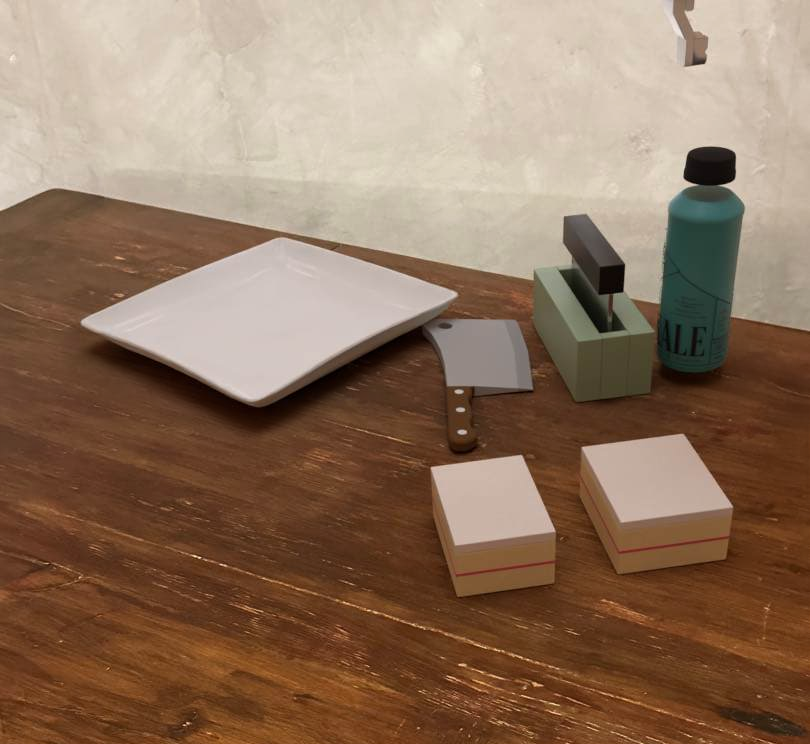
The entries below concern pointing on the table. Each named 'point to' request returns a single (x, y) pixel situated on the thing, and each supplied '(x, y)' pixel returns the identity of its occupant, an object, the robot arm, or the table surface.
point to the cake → (654, 504)
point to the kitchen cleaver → (477, 367)
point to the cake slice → (492, 526)
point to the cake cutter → (593, 269)
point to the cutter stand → (592, 340)
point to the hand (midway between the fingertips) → (760, 56)
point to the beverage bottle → (700, 264)
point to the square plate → (270, 318)
